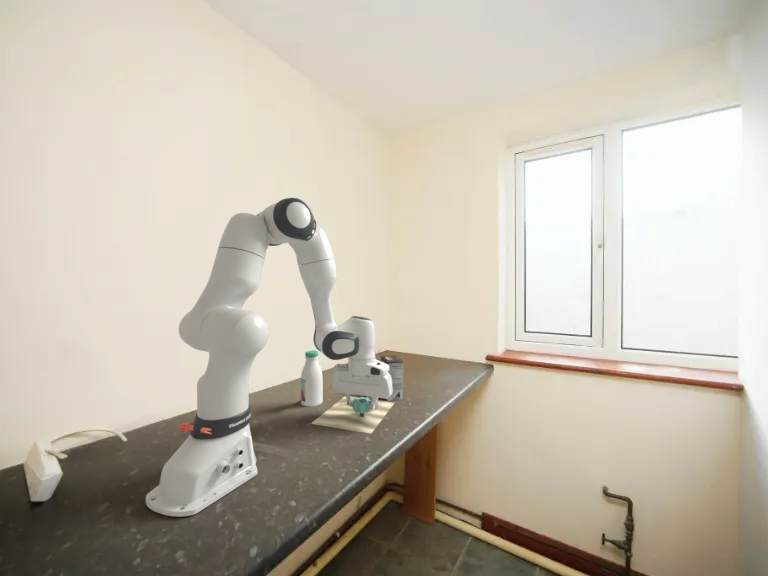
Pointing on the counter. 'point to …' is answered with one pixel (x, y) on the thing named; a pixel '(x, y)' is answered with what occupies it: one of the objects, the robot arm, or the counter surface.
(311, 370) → the milk bottle
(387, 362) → the coffee box
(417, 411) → the counter surface
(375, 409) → the grey gear
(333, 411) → the peg board
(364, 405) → the teal gear
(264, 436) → the counter surface
